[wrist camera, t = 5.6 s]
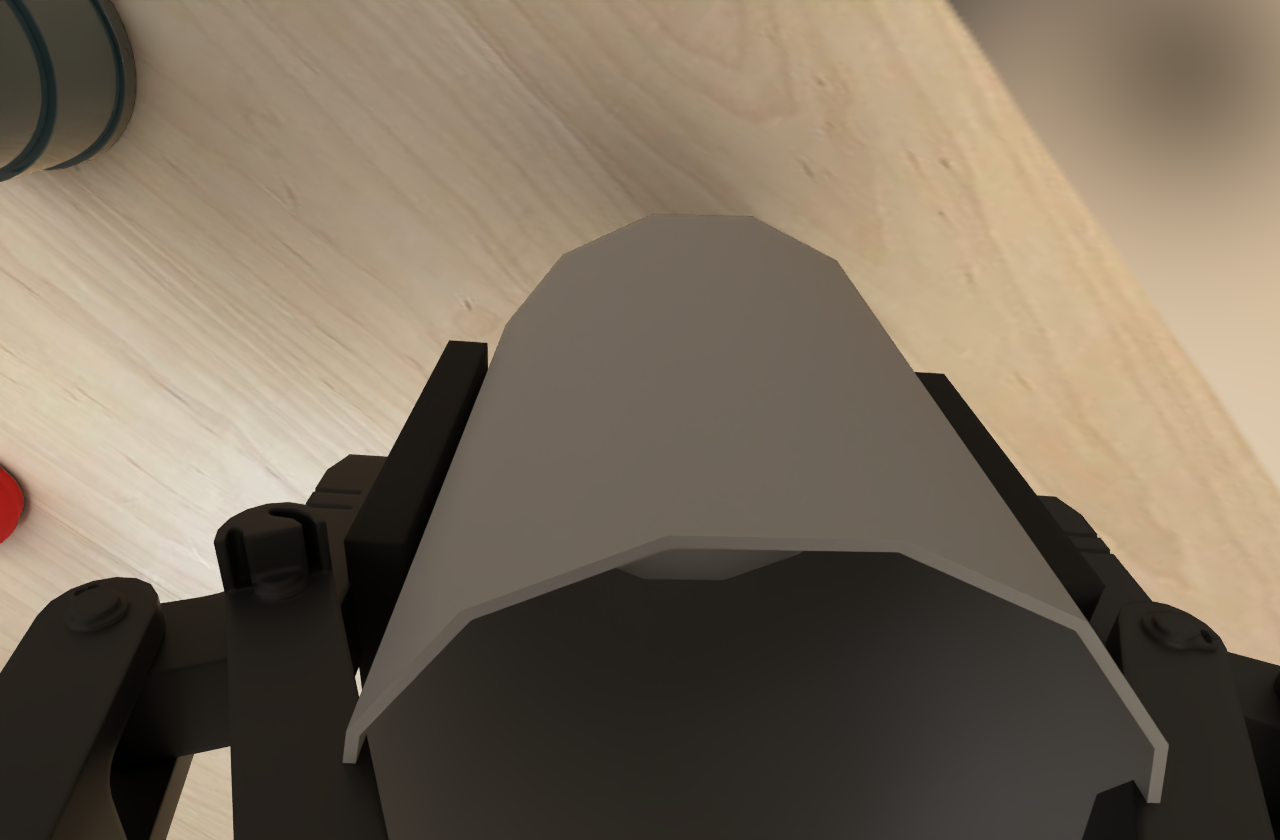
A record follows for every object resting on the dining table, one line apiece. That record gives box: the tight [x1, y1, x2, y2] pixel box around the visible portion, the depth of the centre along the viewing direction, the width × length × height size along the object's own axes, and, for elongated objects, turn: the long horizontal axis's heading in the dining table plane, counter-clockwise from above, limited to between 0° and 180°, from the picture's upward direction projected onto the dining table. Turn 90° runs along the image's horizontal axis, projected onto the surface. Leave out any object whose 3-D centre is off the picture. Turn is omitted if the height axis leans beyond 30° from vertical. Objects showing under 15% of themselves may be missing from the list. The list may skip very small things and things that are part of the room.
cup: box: [343, 214, 1169, 840], centre depth 13 cm, size 8×8×10 cm
